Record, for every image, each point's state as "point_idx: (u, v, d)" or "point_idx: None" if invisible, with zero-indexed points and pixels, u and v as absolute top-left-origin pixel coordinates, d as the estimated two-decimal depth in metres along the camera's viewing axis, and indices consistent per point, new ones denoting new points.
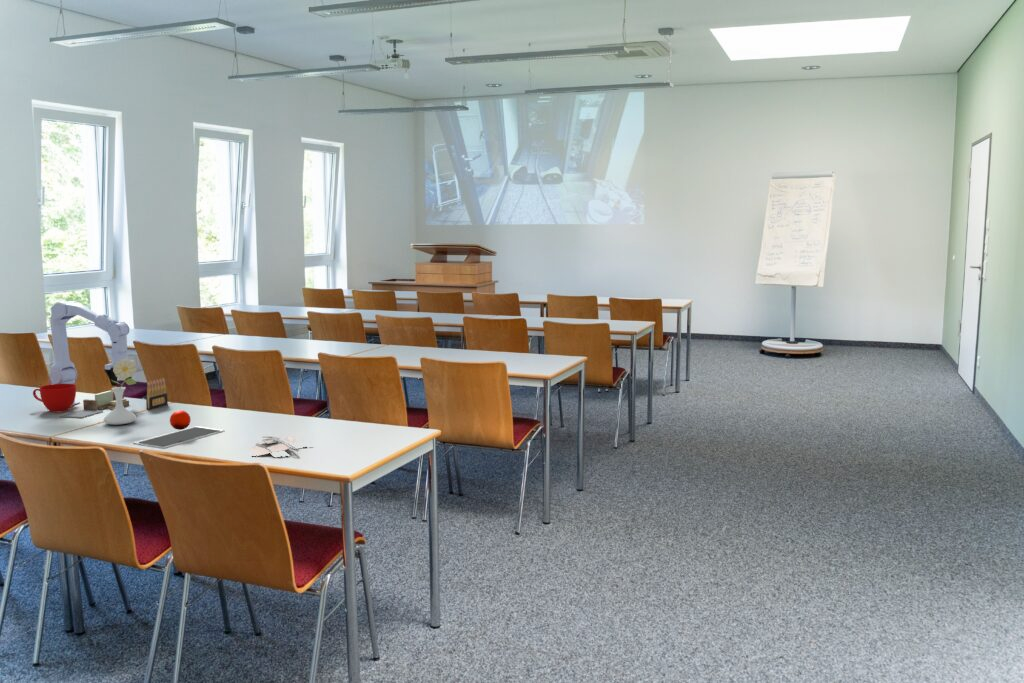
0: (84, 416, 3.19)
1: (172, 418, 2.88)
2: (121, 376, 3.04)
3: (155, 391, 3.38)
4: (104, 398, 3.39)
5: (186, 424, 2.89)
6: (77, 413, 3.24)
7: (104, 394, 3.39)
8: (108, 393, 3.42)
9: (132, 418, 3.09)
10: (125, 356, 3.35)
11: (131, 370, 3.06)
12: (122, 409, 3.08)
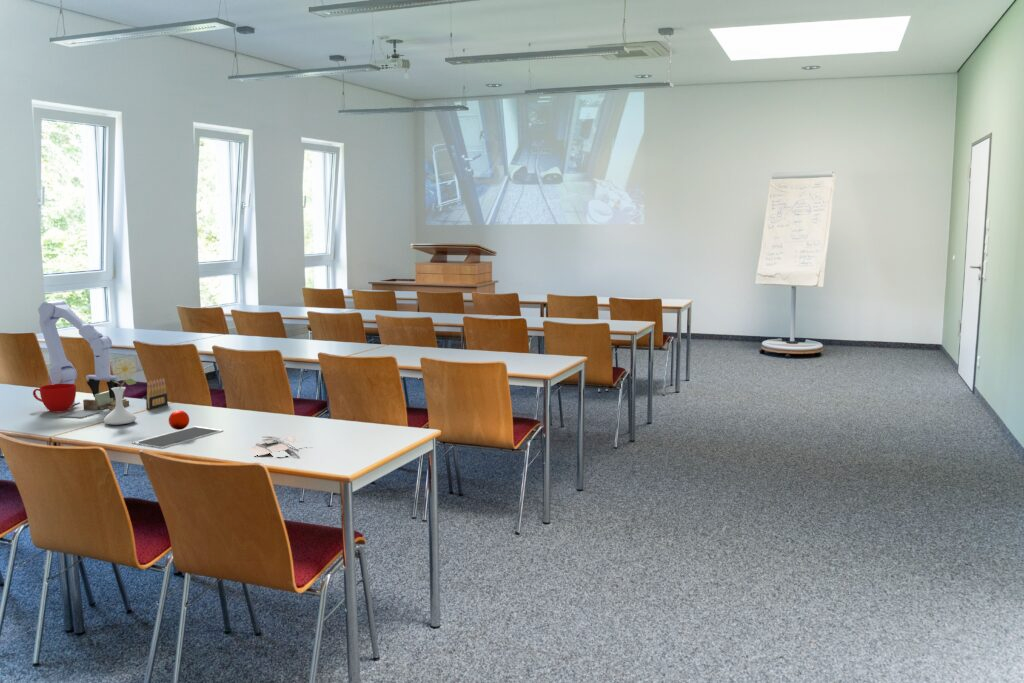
0: (84, 416, 3.19)
1: (171, 418, 2.88)
2: (121, 376, 3.04)
3: (155, 391, 3.38)
4: (104, 398, 3.39)
5: (185, 424, 2.89)
6: (77, 413, 3.24)
7: (104, 394, 3.39)
8: (108, 393, 3.42)
9: (132, 418, 3.09)
10: (98, 370, 3.36)
11: (131, 370, 3.06)
12: (122, 409, 3.08)
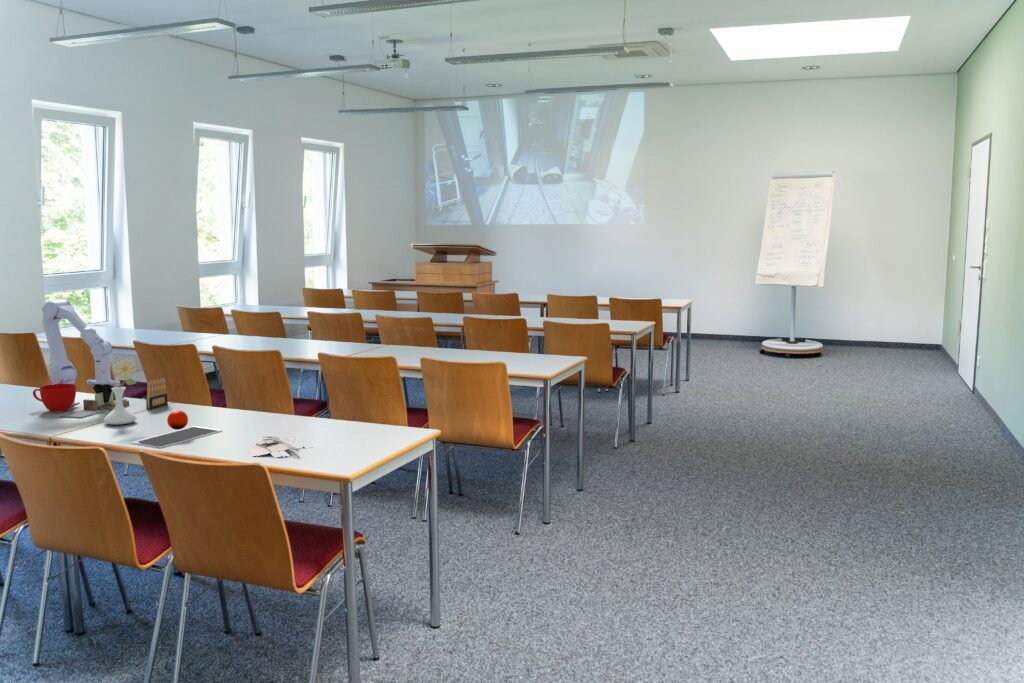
0: (84, 416, 3.19)
1: (169, 418, 2.88)
2: (121, 376, 3.04)
3: (155, 391, 3.38)
4: None
5: (183, 424, 2.89)
6: (77, 413, 3.24)
7: None
8: None
9: (132, 418, 3.09)
10: (98, 375, 3.36)
11: (131, 370, 3.06)
12: (122, 409, 3.08)
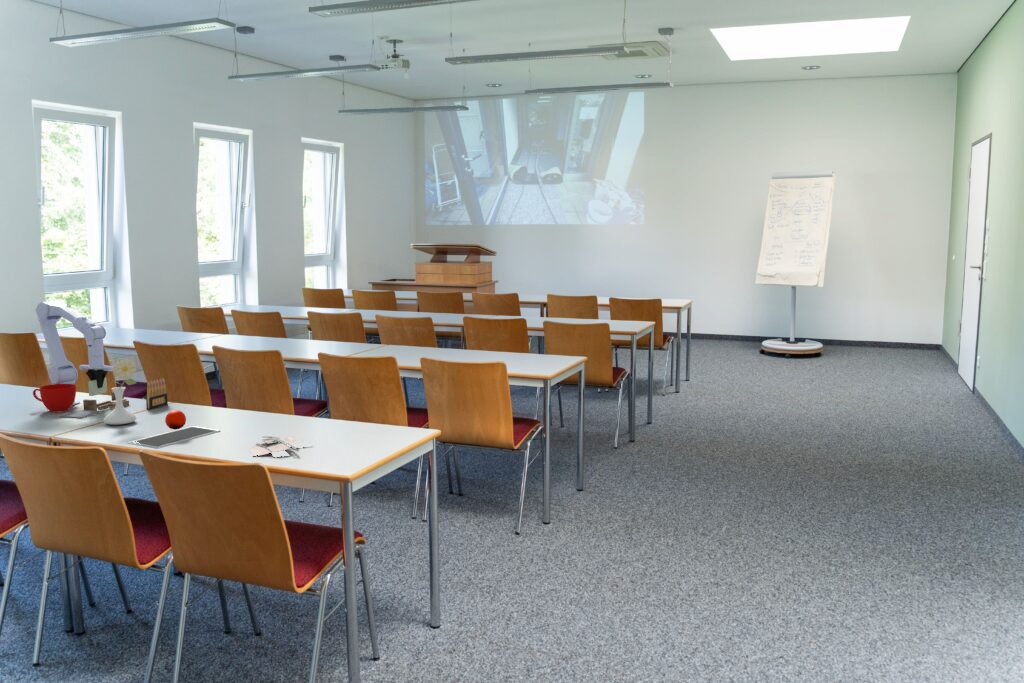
0: (84, 416, 3.19)
1: (167, 418, 2.88)
2: (121, 376, 3.04)
3: (155, 391, 3.38)
4: None
5: (181, 424, 2.89)
6: (77, 413, 3.24)
7: None
8: None
9: (132, 418, 3.09)
10: (91, 360, 3.31)
11: (131, 370, 3.06)
12: (122, 409, 3.08)
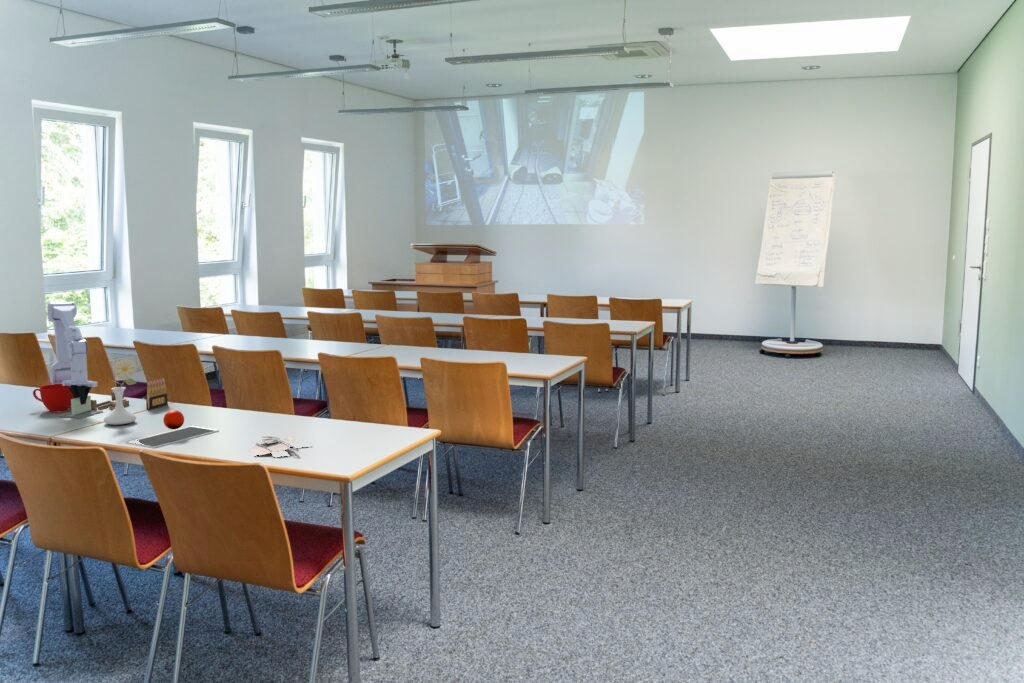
0: (84, 416, 3.19)
1: (165, 418, 2.88)
2: (121, 376, 3.04)
3: (155, 391, 3.38)
4: None
5: (179, 424, 2.90)
6: None
7: None
8: None
9: (132, 418, 3.09)
10: (74, 375, 3.20)
11: (131, 370, 3.06)
12: (122, 409, 3.08)
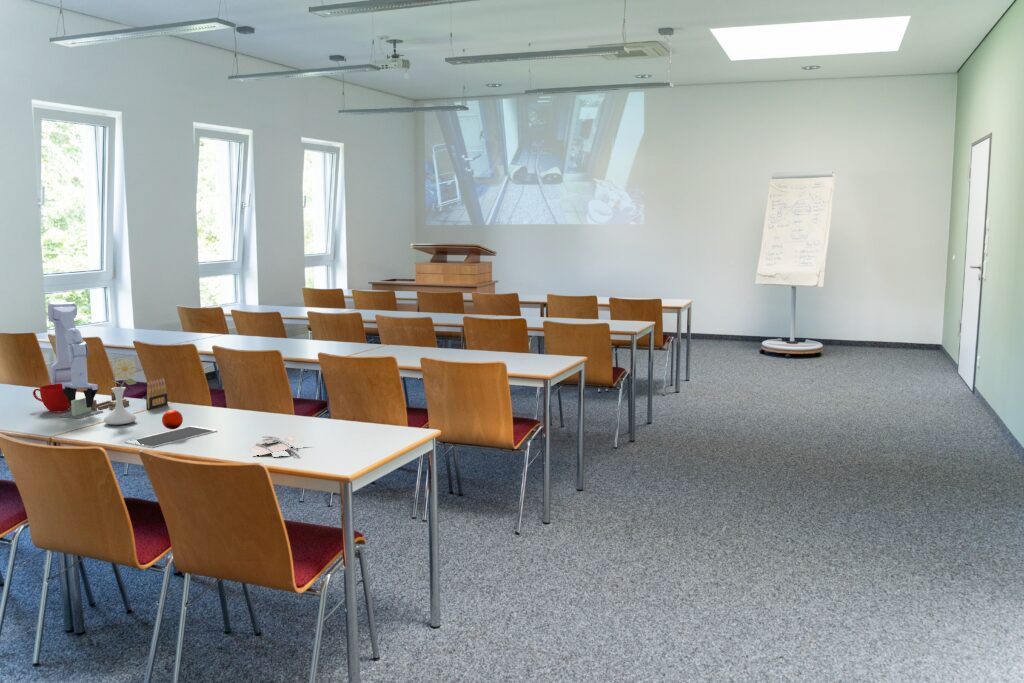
0: (84, 416, 3.19)
1: (164, 417, 2.88)
2: (121, 376, 3.04)
3: (155, 391, 3.38)
4: (81, 404, 3.23)
5: (178, 424, 2.90)
6: None
7: (81, 400, 3.23)
8: None
9: (132, 418, 3.09)
10: (74, 378, 3.20)
11: (131, 370, 3.06)
12: (122, 409, 3.08)
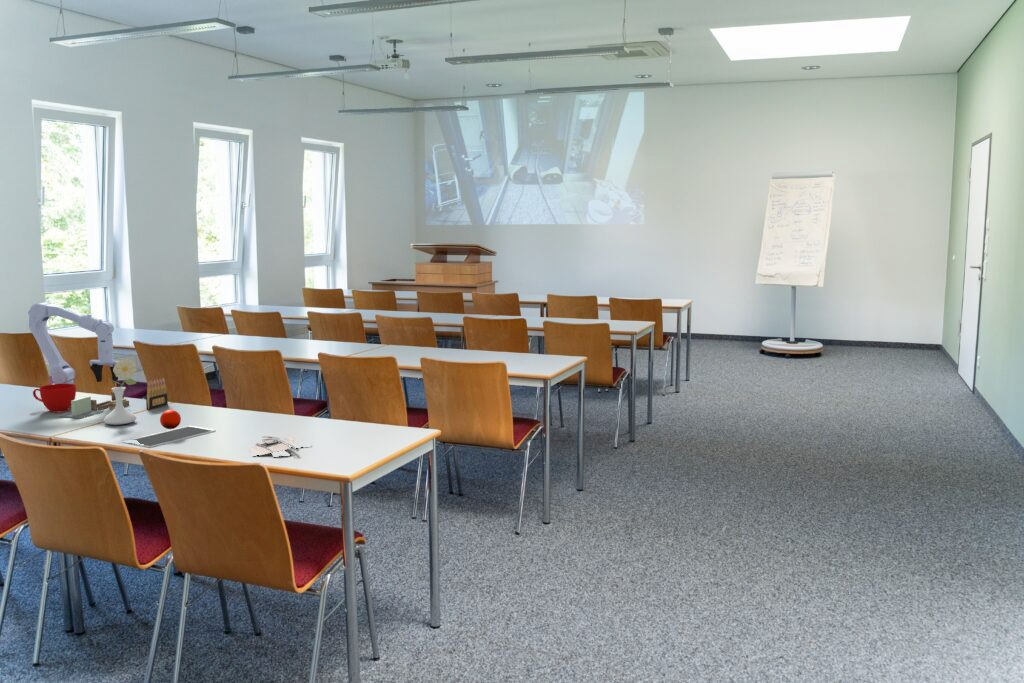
0: (84, 416, 3.19)
1: (162, 417, 2.89)
2: (121, 376, 3.04)
3: (155, 391, 3.38)
4: (81, 404, 3.23)
5: (176, 423, 2.90)
6: None
7: (81, 400, 3.23)
8: (86, 399, 3.26)
9: (132, 418, 3.09)
10: (101, 355, 3.41)
11: (131, 370, 3.06)
12: (122, 409, 3.08)
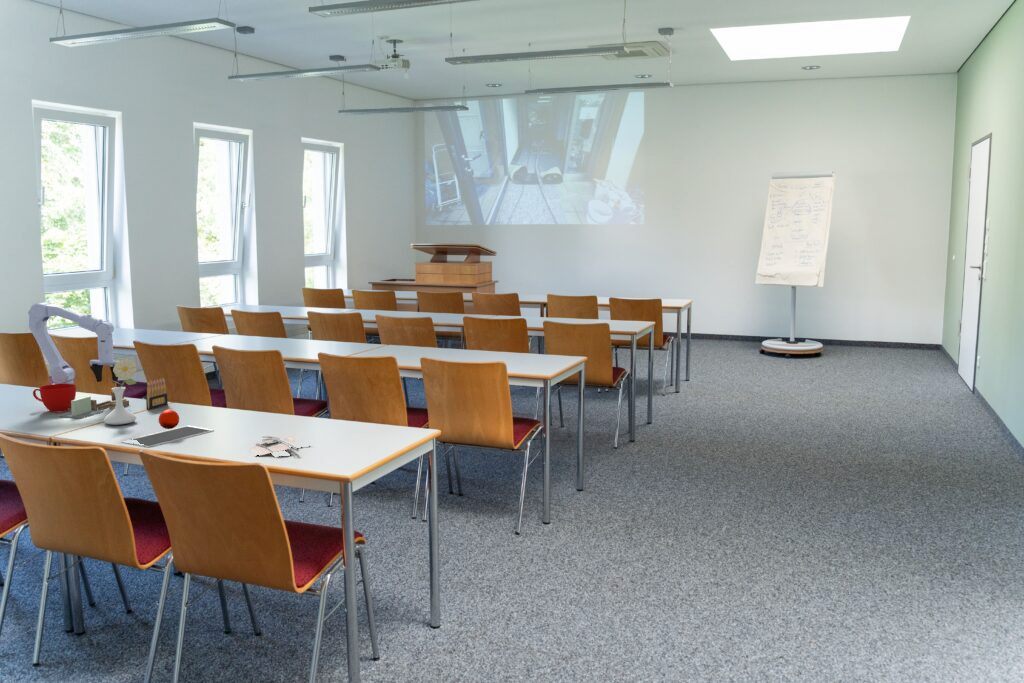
0: (84, 416, 3.19)
1: (160, 417, 2.89)
2: (121, 376, 3.04)
3: (155, 391, 3.38)
4: (81, 404, 3.23)
5: (174, 423, 2.90)
6: None
7: (81, 400, 3.23)
8: (86, 399, 3.26)
9: (132, 418, 3.09)
10: (101, 355, 3.41)
11: (131, 370, 3.06)
12: (122, 409, 3.08)
